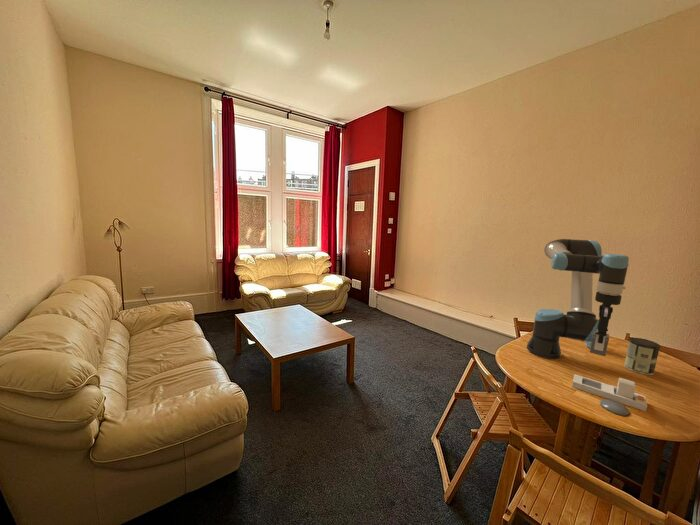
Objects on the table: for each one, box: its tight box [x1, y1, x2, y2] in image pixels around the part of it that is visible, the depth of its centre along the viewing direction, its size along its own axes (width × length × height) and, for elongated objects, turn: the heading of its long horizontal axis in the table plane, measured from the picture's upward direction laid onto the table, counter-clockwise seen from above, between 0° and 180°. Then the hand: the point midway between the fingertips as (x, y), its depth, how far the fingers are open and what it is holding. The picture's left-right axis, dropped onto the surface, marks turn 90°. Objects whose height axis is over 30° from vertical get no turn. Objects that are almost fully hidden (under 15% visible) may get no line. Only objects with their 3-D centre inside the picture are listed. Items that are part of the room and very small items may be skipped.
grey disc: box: [599, 398, 630, 417], centre depth 107 cm, size 8×8×1 cm
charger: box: [589, 331, 610, 357], centre depth 116 cm, size 5×5×8 cm
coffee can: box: [623, 337, 661, 376], centre depth 135 cm, size 10×10×14 cm
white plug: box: [616, 377, 636, 400], centre depth 112 cm, size 4×4×6 cm
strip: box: [571, 373, 648, 412], centre depth 116 cm, size 22×9×3 cm, turn 49°
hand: (598, 347), depth 116 cm, fingers closed on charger, 5 cm apart
